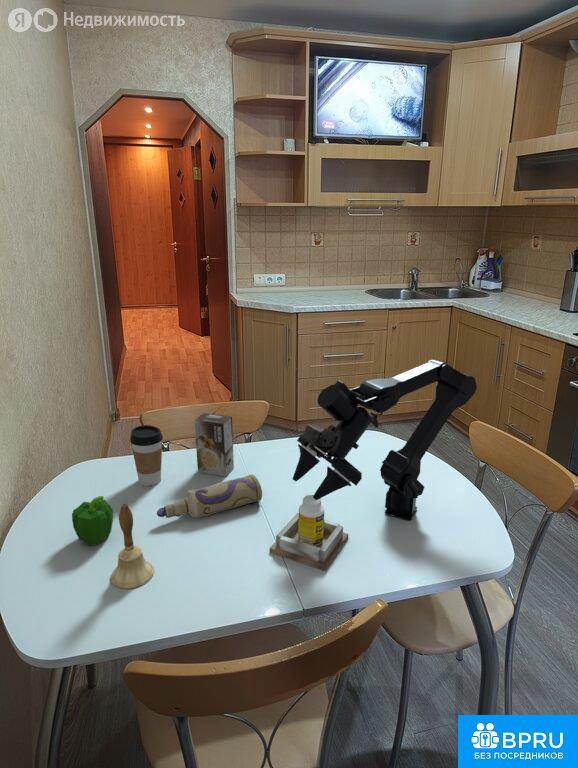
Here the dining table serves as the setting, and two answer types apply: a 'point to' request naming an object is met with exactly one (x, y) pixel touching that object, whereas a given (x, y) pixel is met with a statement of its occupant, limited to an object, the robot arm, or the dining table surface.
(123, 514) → the hand bell
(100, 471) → the dining table surface
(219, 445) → the coffee box
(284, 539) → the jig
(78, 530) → the bell pepper
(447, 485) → the dining table surface
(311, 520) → the supplement bottle
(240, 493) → the decorative bottle
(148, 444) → the coffee cup
